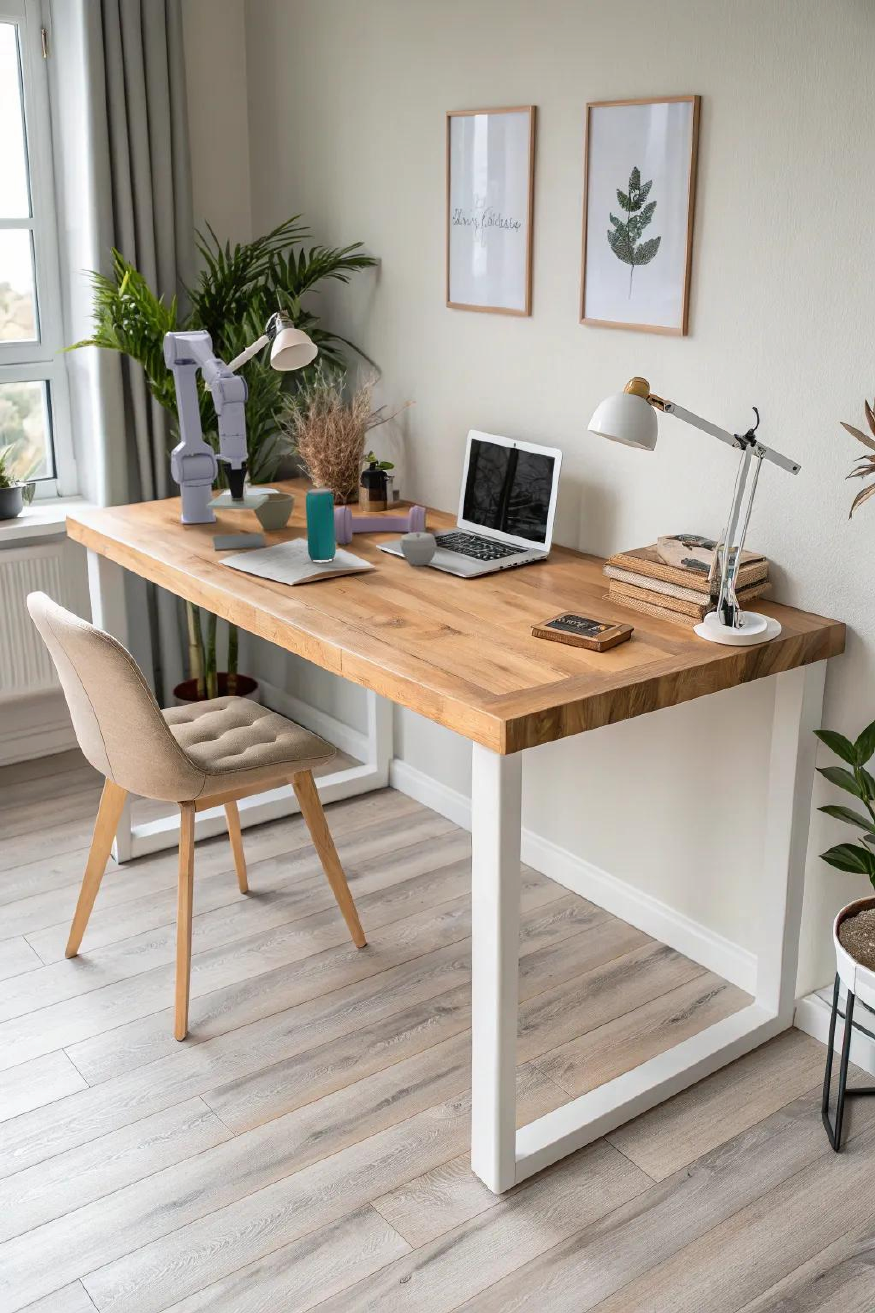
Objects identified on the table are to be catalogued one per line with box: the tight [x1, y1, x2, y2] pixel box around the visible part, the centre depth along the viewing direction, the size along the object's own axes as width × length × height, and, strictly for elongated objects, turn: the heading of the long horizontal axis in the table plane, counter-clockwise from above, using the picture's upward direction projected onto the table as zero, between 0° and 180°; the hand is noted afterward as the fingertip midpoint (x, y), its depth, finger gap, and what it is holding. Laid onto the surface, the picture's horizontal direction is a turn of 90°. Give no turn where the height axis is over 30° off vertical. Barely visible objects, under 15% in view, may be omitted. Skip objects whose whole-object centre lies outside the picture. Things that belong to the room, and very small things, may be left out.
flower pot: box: [253, 492, 295, 530], centre depth 290 cm, size 10×10×7 cm
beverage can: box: [305, 486, 337, 560], centre depth 259 cm, size 6×6×15 cm
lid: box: [206, 489, 269, 510], centre depth 274 cm, size 11×11×5 cm
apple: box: [399, 532, 438, 567], centre depth 257 cm, size 8×8×7 cm
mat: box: [212, 532, 267, 552], centre depth 277 cm, size 12×11×1 cm
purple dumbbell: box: [334, 505, 427, 546], centre depth 280 cm, size 20×10×20 cm
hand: (236, 496), depth 274 cm, fingers closed on lid, 3 cm apart
